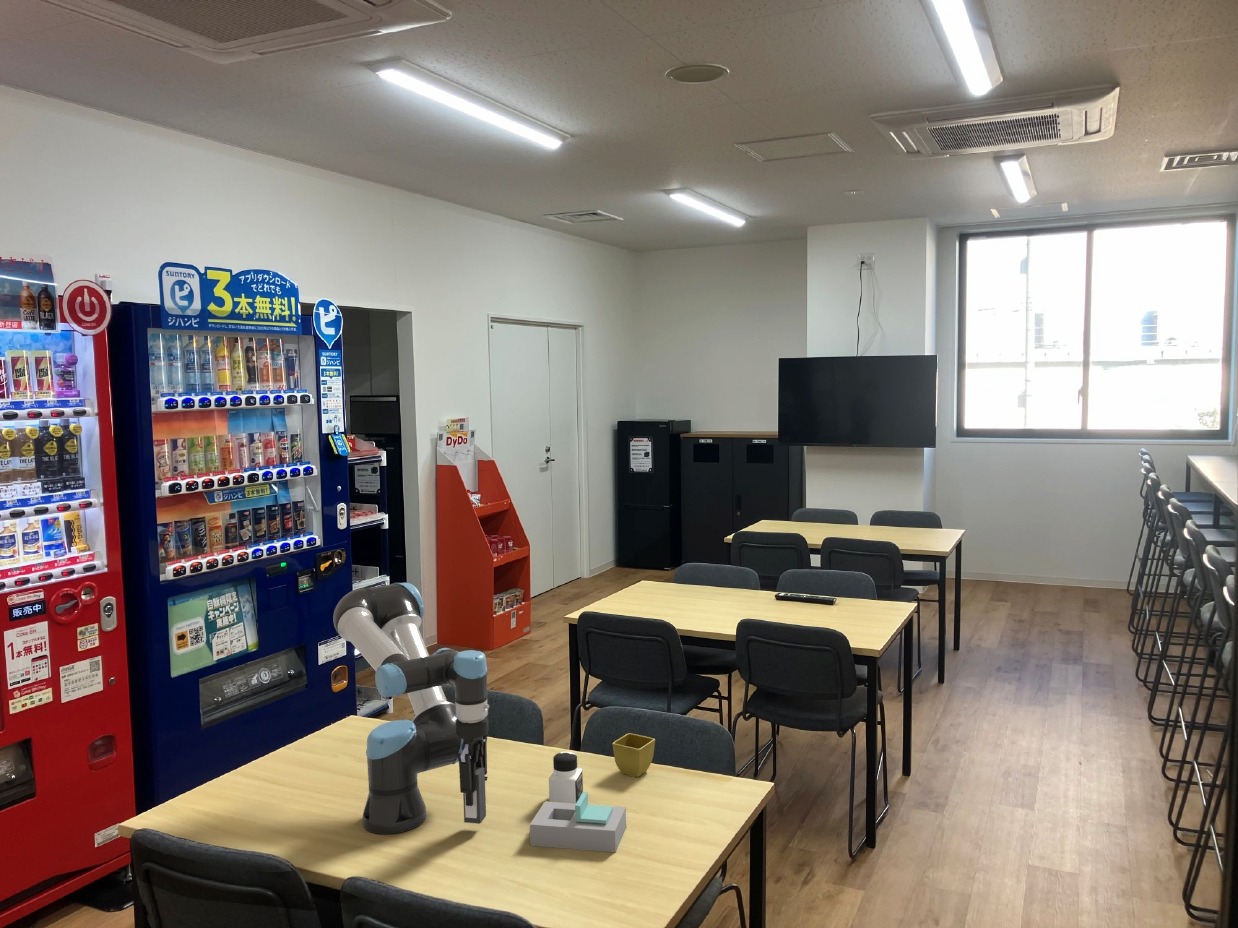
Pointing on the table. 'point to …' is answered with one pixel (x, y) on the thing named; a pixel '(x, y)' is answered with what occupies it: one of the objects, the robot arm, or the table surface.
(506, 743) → the table surface
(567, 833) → the socket
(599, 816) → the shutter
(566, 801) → the medicine bottle
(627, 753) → the flower pot
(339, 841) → the table surface
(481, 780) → the plug
